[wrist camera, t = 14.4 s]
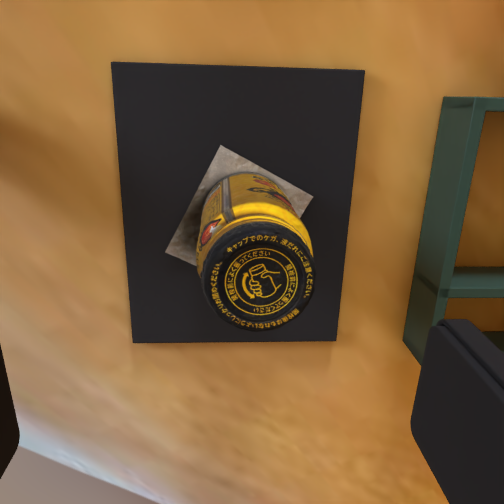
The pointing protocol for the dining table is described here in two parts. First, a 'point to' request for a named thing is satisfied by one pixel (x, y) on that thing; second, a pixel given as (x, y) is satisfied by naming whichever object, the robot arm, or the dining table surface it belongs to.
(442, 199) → the caddy
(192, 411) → the dining table surface
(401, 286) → the dining table surface
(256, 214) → the condiment
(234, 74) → the mat
